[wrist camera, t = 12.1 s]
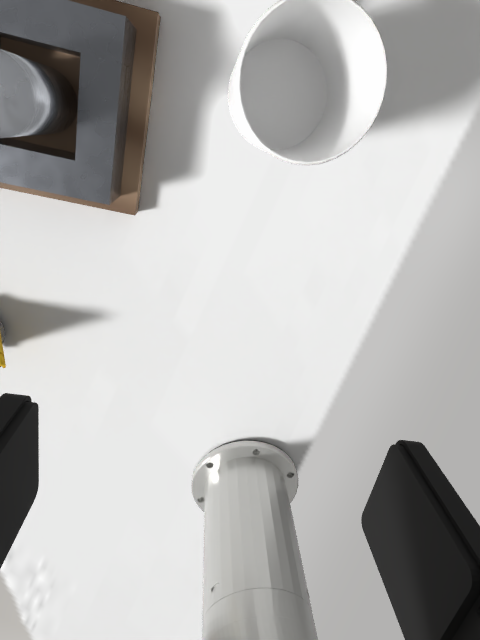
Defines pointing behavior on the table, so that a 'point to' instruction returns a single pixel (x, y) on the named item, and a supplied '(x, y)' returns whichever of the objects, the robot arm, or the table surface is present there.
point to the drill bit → (0, 338)
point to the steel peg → (33, 98)
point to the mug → (308, 80)
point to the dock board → (138, 105)
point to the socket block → (93, 99)
